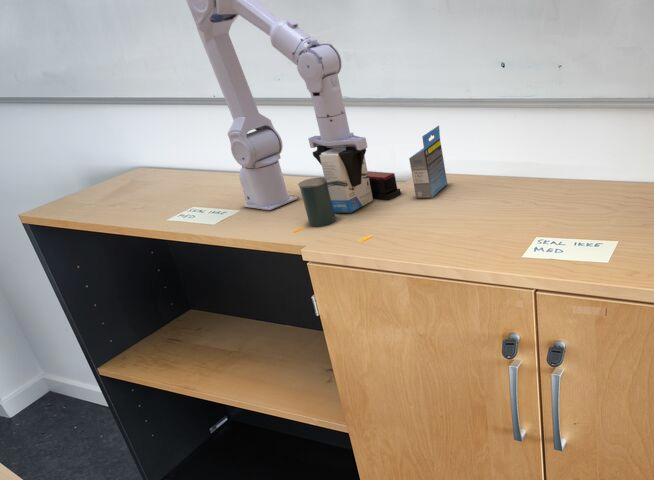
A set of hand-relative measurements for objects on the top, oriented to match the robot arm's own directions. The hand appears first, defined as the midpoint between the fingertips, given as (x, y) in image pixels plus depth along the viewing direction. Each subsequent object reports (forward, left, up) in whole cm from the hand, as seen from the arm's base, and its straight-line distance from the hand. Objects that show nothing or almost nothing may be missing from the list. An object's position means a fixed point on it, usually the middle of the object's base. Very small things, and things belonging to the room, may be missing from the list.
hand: (346, 184), depth 137 cm
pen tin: (0, -9, -5) cm, 10 cm away
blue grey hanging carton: (+11, +13, -5) cm, 18 cm away
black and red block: (-1, +8, -5) cm, 9 cm away
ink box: (0, +1, -5) cm, 5 cm away
